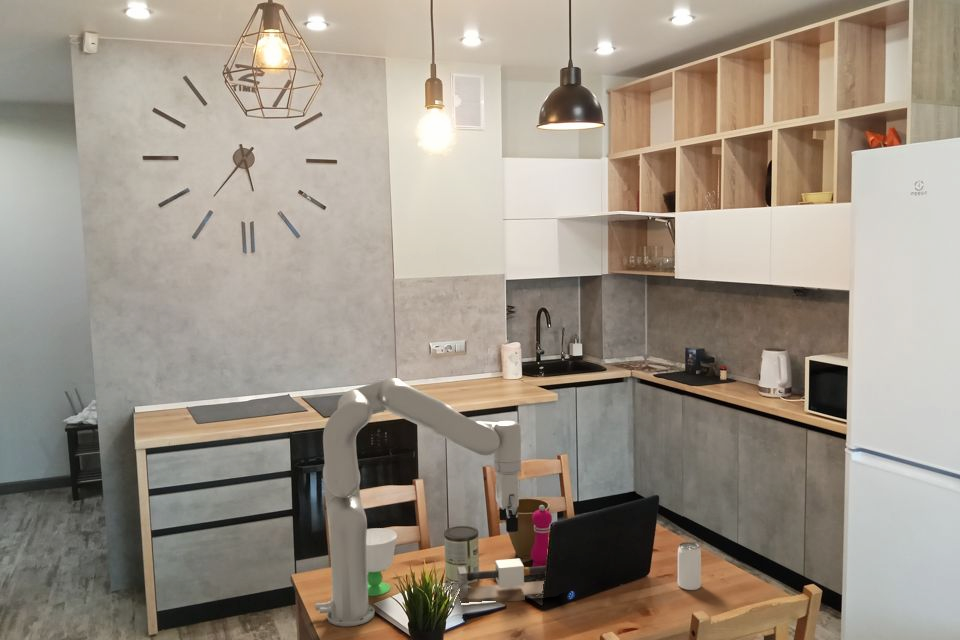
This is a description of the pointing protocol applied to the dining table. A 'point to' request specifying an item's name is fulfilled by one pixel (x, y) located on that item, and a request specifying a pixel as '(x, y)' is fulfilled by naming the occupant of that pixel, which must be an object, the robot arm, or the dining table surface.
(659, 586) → the dining table surface
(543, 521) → the pepper mill
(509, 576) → the white cubic block
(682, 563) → the can
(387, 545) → the cup
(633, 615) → the dining table surface
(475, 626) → the dining table surface
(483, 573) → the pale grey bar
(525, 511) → the plant pot
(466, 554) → the coffee can
